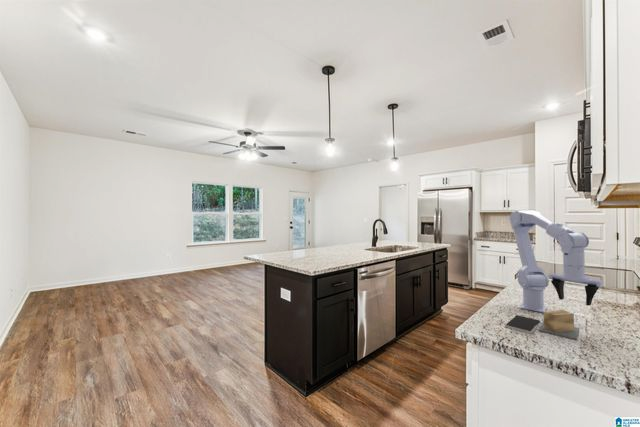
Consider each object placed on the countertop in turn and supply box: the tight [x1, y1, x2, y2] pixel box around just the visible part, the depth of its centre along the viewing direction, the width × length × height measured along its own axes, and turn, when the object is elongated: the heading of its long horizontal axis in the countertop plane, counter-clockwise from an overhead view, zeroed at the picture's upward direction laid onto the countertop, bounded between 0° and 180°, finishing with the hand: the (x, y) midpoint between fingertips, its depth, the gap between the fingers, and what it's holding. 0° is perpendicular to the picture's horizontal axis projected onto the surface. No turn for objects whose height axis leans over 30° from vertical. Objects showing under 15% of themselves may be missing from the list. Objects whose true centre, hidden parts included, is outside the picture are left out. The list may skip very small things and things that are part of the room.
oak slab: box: [543, 309, 575, 332], centre depth 96 cm, size 4×8×6 cm, turn 99°
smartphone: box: [505, 314, 542, 334], centre depth 102 cm, size 8×1×15 cm
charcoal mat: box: [538, 319, 580, 341], centre depth 96 cm, size 12×10×1 cm
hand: (574, 301), depth 98 cm, fingers open, 7 cm apart
